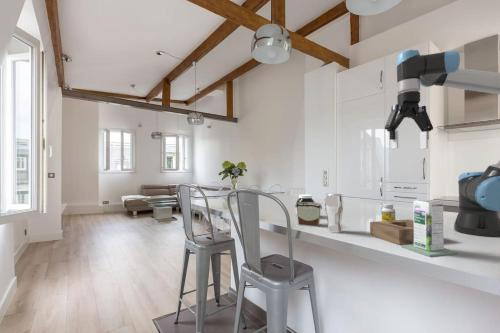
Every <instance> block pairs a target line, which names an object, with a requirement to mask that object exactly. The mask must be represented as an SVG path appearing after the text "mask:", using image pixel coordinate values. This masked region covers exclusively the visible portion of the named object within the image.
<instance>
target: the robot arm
mask: <svg viewBox="0 0 500 333" xmlns="http://www.w3.org/2000/svg"><path fill="white" fill-rule="evenodd" d="M460 63H461V55H460V53H459V51H457V50H452V51H451V50H450V51H449V50H447V51H443V52H442V51H441V52H436V53H431V54H429V53H428V54H421V53H420V51H419V50H418V49H408V50H404V51H402V52H400V53H399V54H398V55H397V57H396V83H397V84H396V86H397V90H396V92H397V97H396V98H397V100H396V102H397V103H395V104H394V105H391V108H390V109H391V110H390V113H389V116H388V119H386V120H387V121H386V123H385V125H384V130H387V132H388V133H389V140H390V148H391V149H390V150H394V149H395V150H396V149H399V130H397V129H398V128H399V126H400V125H401V123H402V121H403V120H404V119H406V118H408V119H411V120H413V121H414V122H415V124H416V125H417V126H418V128H419V130H420V131H421V132H420V131H419V145H420V146H419V148H420V150H426V149H429V132H431V131H432V130H434V126H433V123H432V122H431V119H430V116H429V114H428V112H427V106H426V105H421V106H420V105H419V103H421V92H420V91H421V86H422V87H425V88H428V87H432V86H433V87H434V86H438V87H444V88H445V87H446V88H452V89H460V90H464V91H465V90H467V91H472V92H473V91H474V92H481V93H487V94H493V95H500V72H495V71H487V70H477V69H470V68H469V69H468V68H463V67H460ZM457 185H458V214H457V216H456V218H455V222H454V225H453V229H454V231H455V232H458V233H462V234H467V235H475V236H483V237H500V214H499V212H500V160H499V161H497V163H495V164H490V165H488V166H487V168H486V169H485V170H484V171H469V172H463V173H460V174H459V175H458V181H457Z"/></svg>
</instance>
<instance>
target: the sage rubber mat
mask: <svg viewBox="0 0 500 333" xmlns="http://www.w3.org/2000/svg"><path fill="white" fill-rule="evenodd" d="M401 248H403V249H406V250H409V251H412V252H414V253H418V254H420V255H423V256H425V257H429V258H432V257H439V256H448V255H449V256H450V255H456V254H458V252H457V251H456V250H453V249H449V248H445V247H444V249H443V250H437V251H427V250H424V249H421V248H418V247H414V244H407V245H401Z"/></svg>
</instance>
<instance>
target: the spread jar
mask: <svg viewBox="0 0 500 333" xmlns="http://www.w3.org/2000/svg"><path fill="white" fill-rule="evenodd" d="M298 202H315V200H314V199H313V195H312V194H299V195H298V199H297V200H296V203H298ZM296 203H295V204H296ZM295 213H296V215H297V207H295Z"/></svg>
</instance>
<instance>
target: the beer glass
mask: <svg viewBox="0 0 500 333" xmlns="http://www.w3.org/2000/svg"><path fill="white" fill-rule="evenodd" d="M343 198H344V197H343V194H341V193H326V194H325V201H324V203H325V206H324V207H325V213H326V219H327V227H326V232H327V233H330V234H331V233H332V234H333V233H334V234H340V233H343V226H342V218H343V211H344V199H343Z"/></svg>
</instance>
